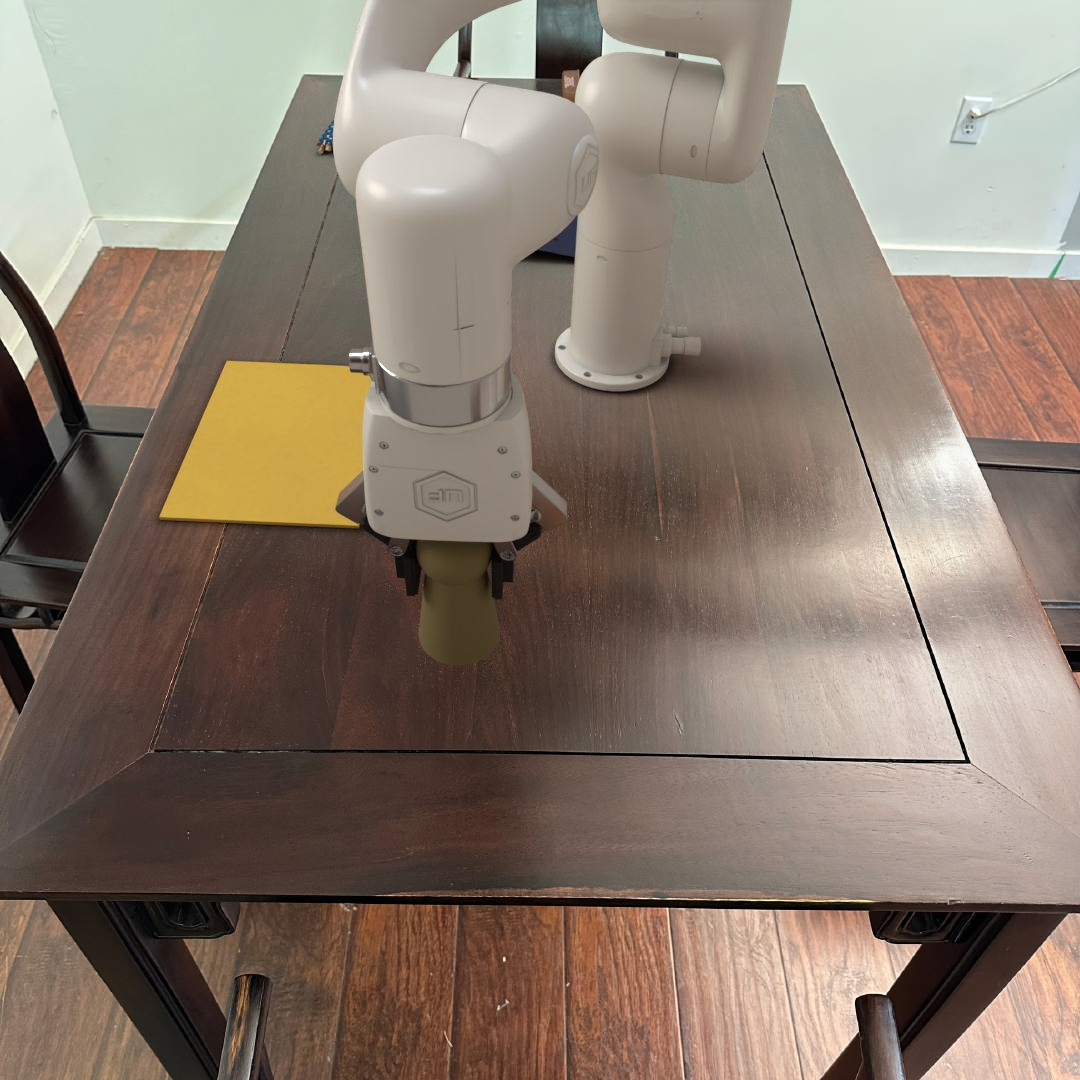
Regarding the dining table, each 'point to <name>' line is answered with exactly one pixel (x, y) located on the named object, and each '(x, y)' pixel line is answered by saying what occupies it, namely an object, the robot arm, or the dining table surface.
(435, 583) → the tan pawn
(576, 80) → the tin
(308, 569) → the dining table surface
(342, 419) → the board
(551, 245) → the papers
